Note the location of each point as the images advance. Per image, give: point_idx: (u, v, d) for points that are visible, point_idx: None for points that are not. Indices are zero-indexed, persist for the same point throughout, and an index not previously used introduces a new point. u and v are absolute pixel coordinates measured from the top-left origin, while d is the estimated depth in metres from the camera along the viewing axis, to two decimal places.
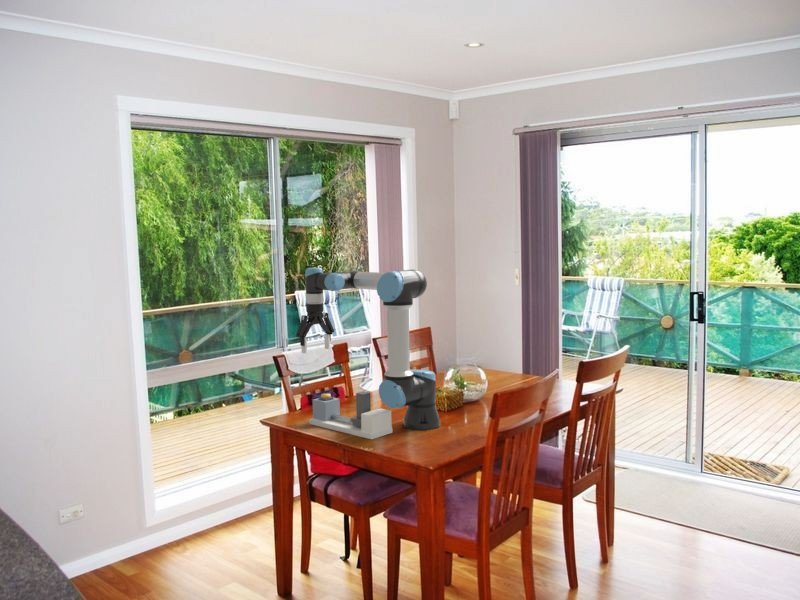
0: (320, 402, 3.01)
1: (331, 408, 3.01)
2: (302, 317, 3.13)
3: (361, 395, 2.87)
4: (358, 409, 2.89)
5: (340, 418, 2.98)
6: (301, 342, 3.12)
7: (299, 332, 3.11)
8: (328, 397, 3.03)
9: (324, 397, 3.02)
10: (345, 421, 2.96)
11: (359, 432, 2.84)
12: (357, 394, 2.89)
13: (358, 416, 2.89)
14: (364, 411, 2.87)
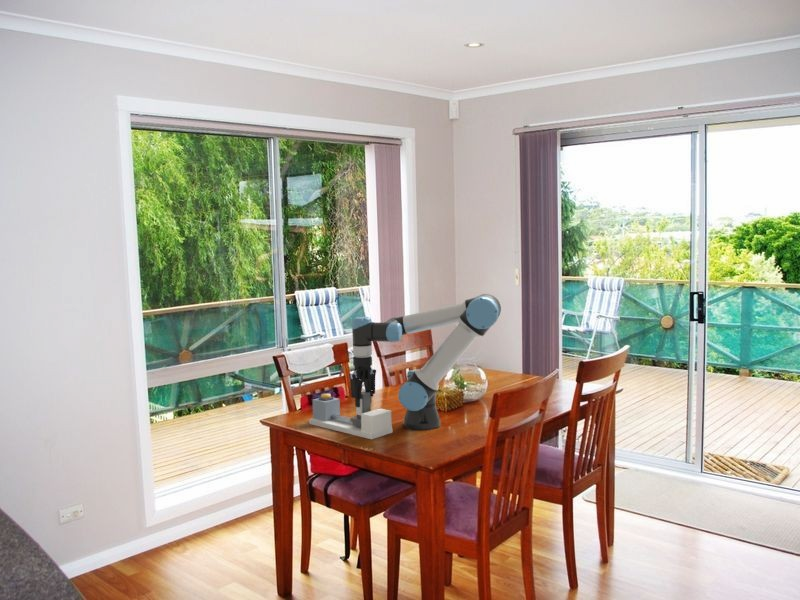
0: (320, 402, 3.01)
1: (331, 408, 3.01)
2: (350, 376, 2.84)
3: (361, 395, 2.87)
4: None
5: (340, 418, 2.98)
6: (356, 403, 2.87)
7: (353, 393, 2.85)
8: (328, 397, 3.03)
9: (324, 397, 3.02)
10: (345, 421, 2.96)
11: (359, 432, 2.84)
12: None
13: (358, 416, 2.89)
14: (364, 411, 2.87)
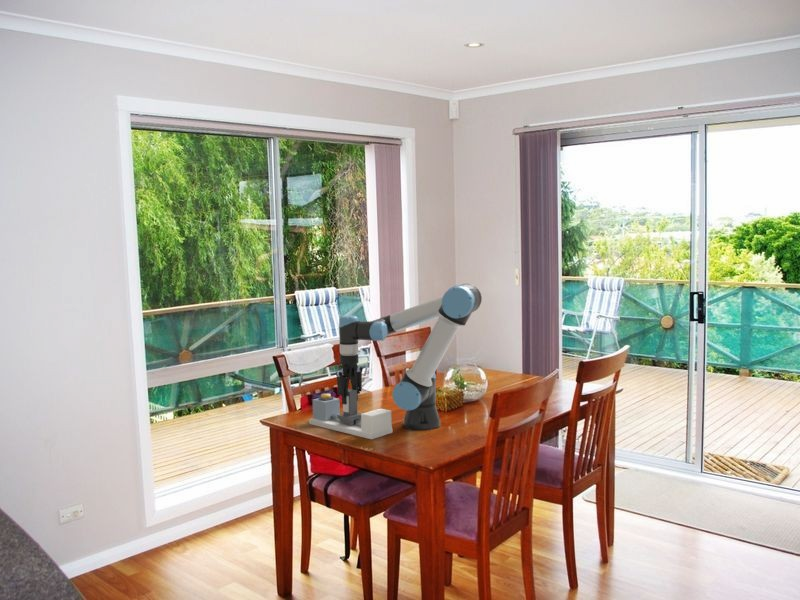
0: (320, 402, 3.01)
1: (331, 408, 3.01)
2: (337, 374, 2.89)
3: (348, 392, 2.92)
4: None
5: None
6: (343, 400, 2.92)
7: (340, 391, 2.90)
8: (328, 397, 3.03)
9: (324, 397, 3.02)
10: None
11: (359, 432, 2.84)
12: None
13: (345, 413, 2.94)
14: (351, 408, 2.92)
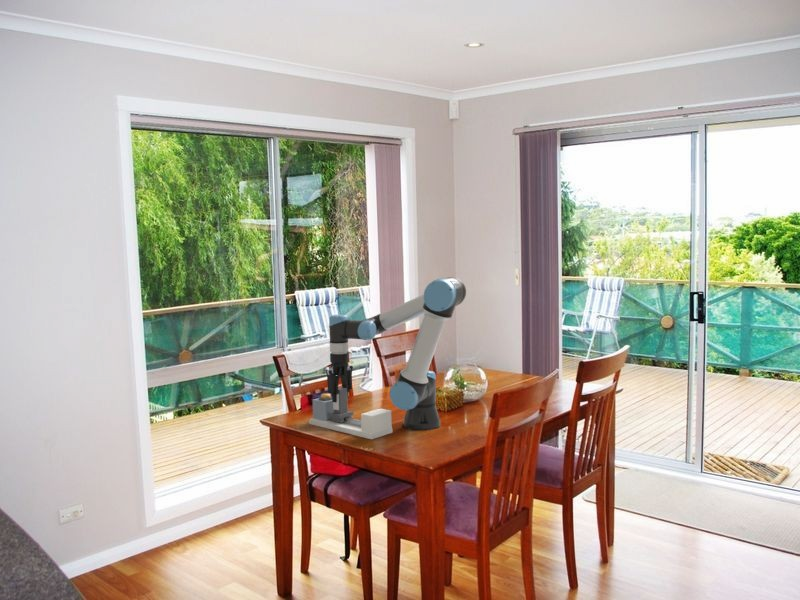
0: (320, 402, 3.01)
1: (331, 408, 3.01)
2: (327, 372, 2.93)
3: (338, 390, 2.96)
4: None
5: None
6: (333, 398, 2.95)
7: (330, 389, 2.93)
8: (328, 397, 3.03)
9: (324, 397, 3.02)
10: (345, 421, 2.96)
11: (359, 432, 2.84)
12: None
13: (335, 411, 2.98)
14: (341, 406, 2.96)
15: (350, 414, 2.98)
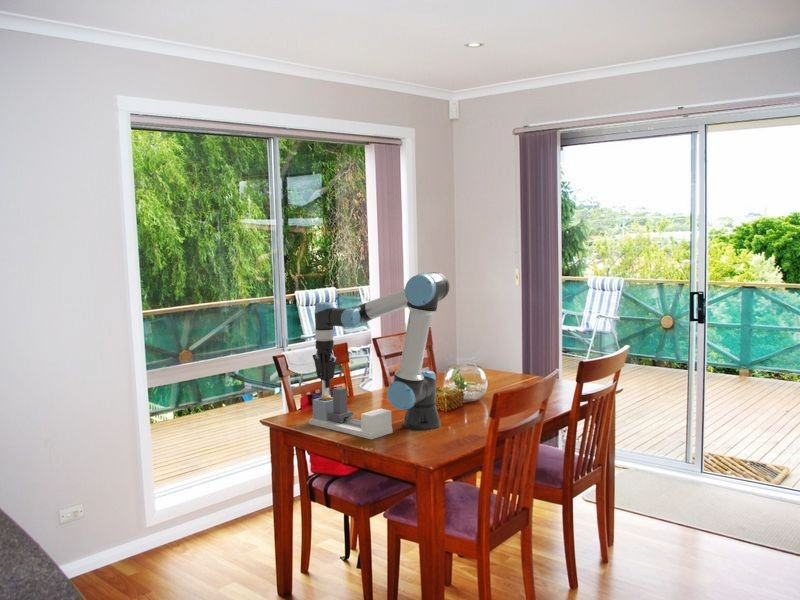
0: (320, 402, 3.01)
1: (331, 408, 3.01)
2: None
3: (337, 390, 2.96)
4: (335, 404, 2.98)
5: None
6: None
7: None
8: (328, 398, 3.03)
9: (324, 398, 3.02)
10: (345, 421, 2.96)
11: (359, 432, 2.84)
12: (334, 389, 2.97)
13: (335, 411, 2.98)
14: (340, 406, 2.96)
15: (350, 414, 2.98)
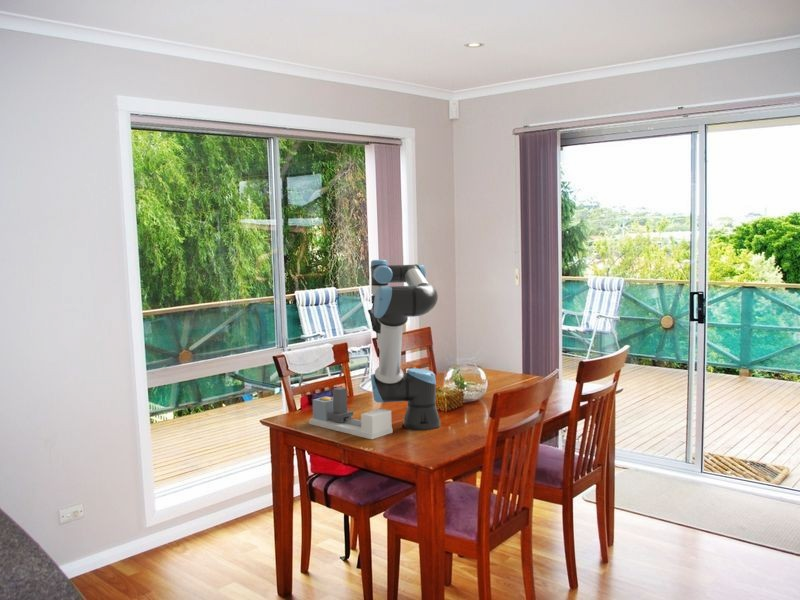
0: (320, 402, 3.01)
1: (331, 408, 3.01)
2: None
3: (337, 390, 2.96)
4: (335, 404, 2.98)
5: None
6: None
7: None
8: None
9: None
10: (345, 421, 2.96)
11: (359, 432, 2.84)
12: (334, 389, 2.97)
13: (335, 411, 2.98)
14: (340, 406, 2.96)
15: (350, 414, 2.98)
